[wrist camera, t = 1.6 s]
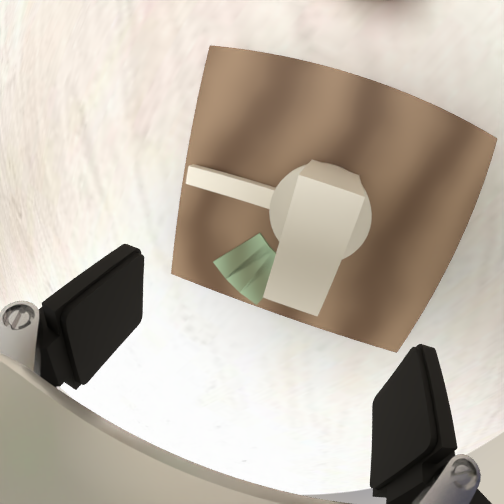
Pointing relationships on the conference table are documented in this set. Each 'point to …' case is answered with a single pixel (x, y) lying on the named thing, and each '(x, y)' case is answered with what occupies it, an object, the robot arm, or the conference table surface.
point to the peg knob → (302, 225)
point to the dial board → (341, 154)
